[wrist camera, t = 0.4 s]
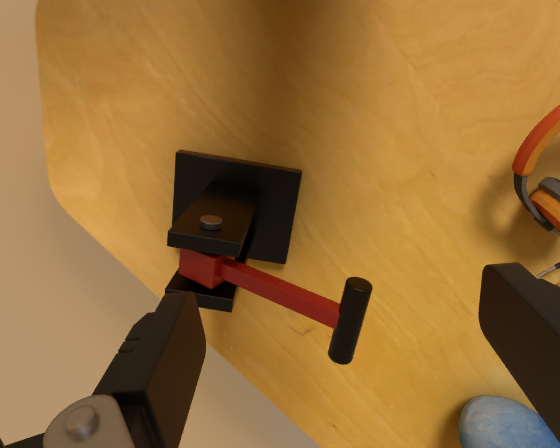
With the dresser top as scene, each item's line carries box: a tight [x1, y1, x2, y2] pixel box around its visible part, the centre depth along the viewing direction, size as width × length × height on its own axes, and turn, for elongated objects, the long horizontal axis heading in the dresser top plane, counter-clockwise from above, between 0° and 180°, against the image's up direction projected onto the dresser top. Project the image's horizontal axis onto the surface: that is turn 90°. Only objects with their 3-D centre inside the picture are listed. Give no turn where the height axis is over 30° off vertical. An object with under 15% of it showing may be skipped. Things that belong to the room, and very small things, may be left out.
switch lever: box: [179, 248, 372, 365], centre depth 23 cm, size 12×5×2 cm, turn 81°
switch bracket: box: [165, 150, 302, 312], centre depth 29 cm, size 11×9×13 cm
